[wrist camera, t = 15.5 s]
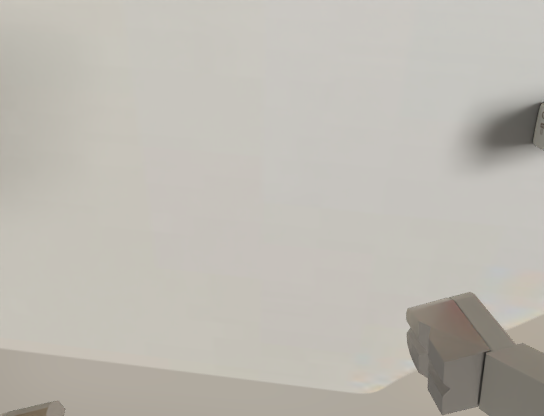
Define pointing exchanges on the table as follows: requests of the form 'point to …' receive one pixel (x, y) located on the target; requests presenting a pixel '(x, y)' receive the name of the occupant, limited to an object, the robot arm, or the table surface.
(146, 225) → the table surface
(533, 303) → the table surface
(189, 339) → the table surface
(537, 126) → the skincare box
